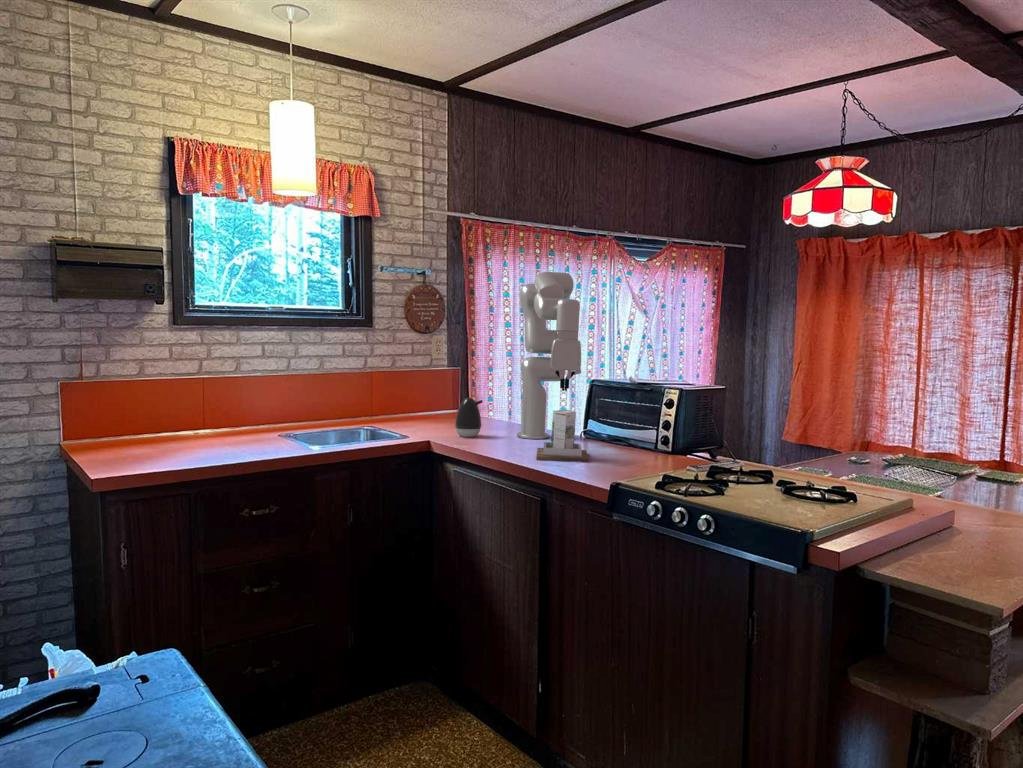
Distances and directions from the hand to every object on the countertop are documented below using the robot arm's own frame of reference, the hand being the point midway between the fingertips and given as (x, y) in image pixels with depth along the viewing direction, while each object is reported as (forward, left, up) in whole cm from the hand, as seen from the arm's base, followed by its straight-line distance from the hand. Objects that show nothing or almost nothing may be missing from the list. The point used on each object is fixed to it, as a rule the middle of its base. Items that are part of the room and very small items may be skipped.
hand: (564, 390), depth 250 cm
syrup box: (0, 0, -21) cm, 21 cm away
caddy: (0, 0, -22) cm, 22 cm away
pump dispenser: (-35, -36, -23) cm, 55 cm away
